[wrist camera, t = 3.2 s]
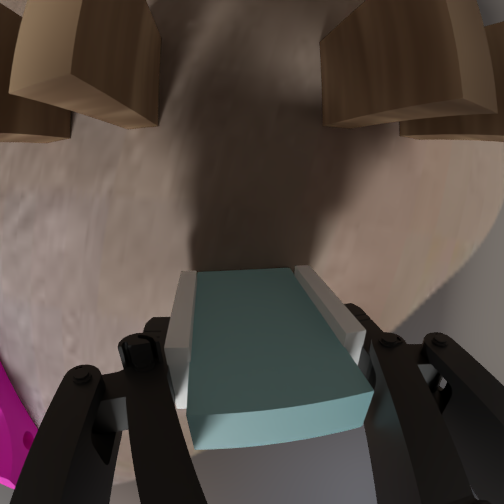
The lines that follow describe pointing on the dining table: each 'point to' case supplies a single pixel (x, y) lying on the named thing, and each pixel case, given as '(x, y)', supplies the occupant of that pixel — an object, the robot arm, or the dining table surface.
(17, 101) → the domino
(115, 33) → the domino
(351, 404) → the domino
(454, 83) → the domino
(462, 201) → the dining table surface
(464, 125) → the domino
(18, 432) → the toy block
